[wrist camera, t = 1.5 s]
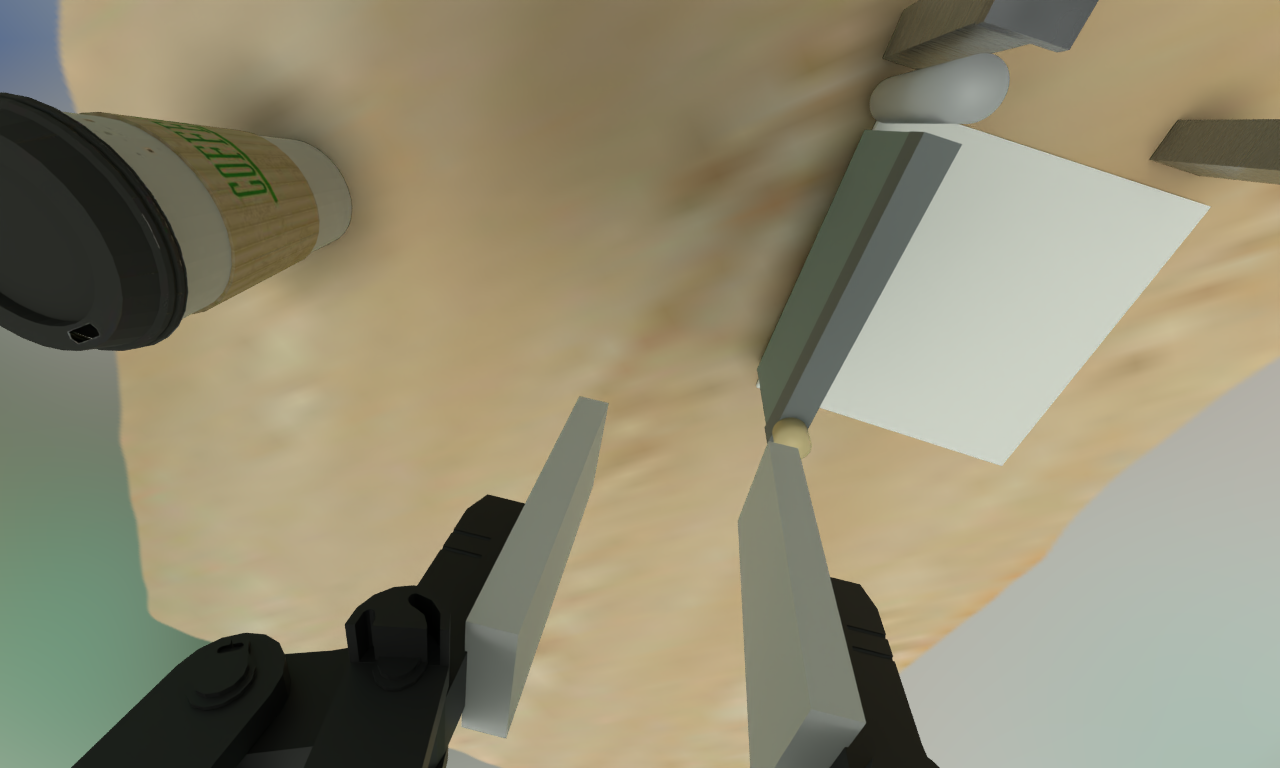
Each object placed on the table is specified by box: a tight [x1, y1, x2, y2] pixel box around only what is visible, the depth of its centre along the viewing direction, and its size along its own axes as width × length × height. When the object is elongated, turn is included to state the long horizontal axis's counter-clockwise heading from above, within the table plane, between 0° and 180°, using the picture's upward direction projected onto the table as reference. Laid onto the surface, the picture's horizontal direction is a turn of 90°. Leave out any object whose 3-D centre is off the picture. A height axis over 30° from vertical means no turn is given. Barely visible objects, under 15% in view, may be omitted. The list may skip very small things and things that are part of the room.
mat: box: [756, 121, 1210, 466], centre depth 29 cm, size 17×17×1 cm
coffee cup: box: [0, 93, 352, 351], centre depth 25 cm, size 10×10×15 cm
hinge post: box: [883, 0, 1098, 70], centre depth 19 cm, size 3×3×12 cm
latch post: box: [1150, 119, 1280, 185], centre depth 21 cm, size 2×3×7 cm
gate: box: [757, 53, 1009, 459], centre depth 24 cm, size 16×2×10 cm, turn 164°
